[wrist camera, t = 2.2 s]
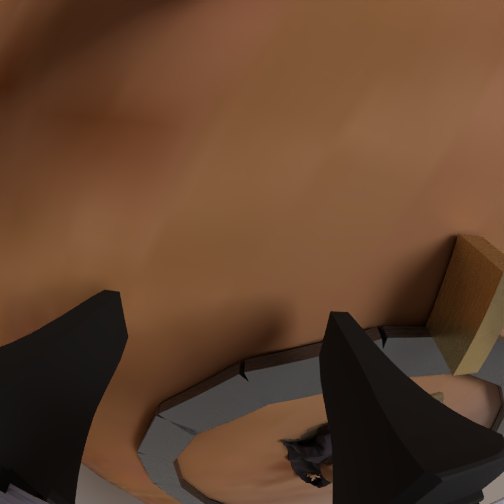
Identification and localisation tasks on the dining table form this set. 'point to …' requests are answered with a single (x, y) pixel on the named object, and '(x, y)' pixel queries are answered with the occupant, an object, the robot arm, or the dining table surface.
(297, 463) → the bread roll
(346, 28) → the dining table surface
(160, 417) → the turntable ring
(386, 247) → the dining table surface
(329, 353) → the robot arm
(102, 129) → the dining table surface
